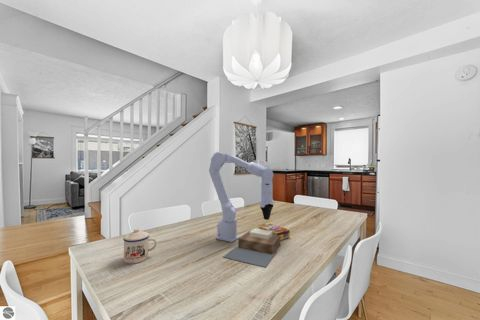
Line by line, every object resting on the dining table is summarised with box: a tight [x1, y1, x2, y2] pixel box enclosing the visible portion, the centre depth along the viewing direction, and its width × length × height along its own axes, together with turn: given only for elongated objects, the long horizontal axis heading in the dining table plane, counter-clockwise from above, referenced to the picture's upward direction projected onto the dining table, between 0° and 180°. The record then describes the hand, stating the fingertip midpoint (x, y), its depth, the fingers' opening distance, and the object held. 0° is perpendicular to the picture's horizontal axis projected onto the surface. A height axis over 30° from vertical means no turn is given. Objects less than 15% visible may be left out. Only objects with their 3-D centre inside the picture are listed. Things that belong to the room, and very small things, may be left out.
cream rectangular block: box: [250, 228, 272, 239], centre depth 96 cm, size 9×6×2 cm, turn 64°
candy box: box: [257, 222, 291, 241], centre depth 109 cm, size 9×4×15 cm
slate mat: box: [222, 246, 275, 268], centre depth 83 cm, size 18×11×1 cm, turn 64°
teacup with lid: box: [123, 228, 158, 265], centre depth 81 cm, size 12×9×12 cm
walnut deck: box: [237, 230, 281, 255], centre depth 94 cm, size 16×12×4 cm
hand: (266, 219), depth 103 cm, fingers closed
